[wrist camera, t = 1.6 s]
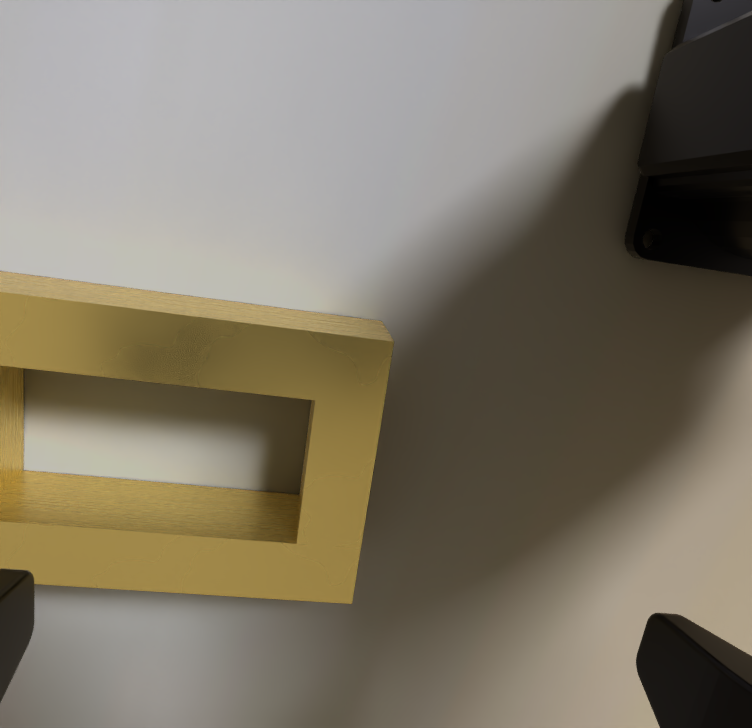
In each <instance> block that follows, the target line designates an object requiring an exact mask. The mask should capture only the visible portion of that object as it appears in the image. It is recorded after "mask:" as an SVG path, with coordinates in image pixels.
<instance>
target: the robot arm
mask: <svg viewBox="0 0 752 728" xmlns="http://www.w3.org/2000/svg"><path fill="white" fill-rule="evenodd" d="M638 167H639V169H640V172H641V174H640V178H639V182H638V186H637V190H636V194H635V198H634V202H633V207H632V211H631V215H630V219H629V223H628V227H627V231H626V235H625V246H626V249H627V251H628V252H629V253H630V254H631V255H632V256H634V257H636V258H640V259H646V260H652V261H659V262H665V263H672V264H678V265H684V266H691V267H697V268H704V269H710V270H716V271H723V272H729V273H736V274H742V275H748V276H752V0H715V1H714V2H713V1H711V0H684V2H683V6H682V10H681V14H680V18H679V22H678V26H677V30H676V34H675V38H674V42H673V46H672V50H671V51H669V52H668V53H667V54H665V56H664V58H663V62H662V66H661V70H660V74H659V78H658V82H657V86H656V90H655V94H654V98H653V102H652V106H651V110H650V114H649V119H648V123H647V127H646V131H645V135H644V139H643V143H642V147H641V151H640V155H639V159H638ZM648 230H651V232H652V233H653V241H652V243H651V245H650V246H648V247H647V248H645V246H644V244H643V236H644V234H645V232H647V231H648ZM33 628H34V577H33V574H32V573H31V572H30V571H29V570H19V569H5V568H1V569H0V703H1V701H2V699H3V697H4V694H5V692H6V690H7V688H8V686H9V684H10V682H11V680H12V678H13V675H14V673H15V671H16V669H17V667H18V665H19V663H20V661H21V659H22V656H23V654H24V652H25V650H26V648H27V646H28V644H29V641H30V639H31V636H32V632H33ZM636 666H637V672H638V675H639V678H640V680H641V683H642V685H643V687H644V690H645V692H646V695H647V697H648V700H649V702H650V705H651V707H652V709H653V712H654V714H655V717H656V719H657V722H658V724H659V726H660V728H752V656H750V655H749V654H747V653H745V652H744V651H742V650H740V649H738V648H737V647H735V646H733V645H731V644H730V643H728V642H726V641H725V640H723V639H721V638H719V637H718V636H716V635H714V634H712V633H711V632H709V631H707V630H706V629H704V628H702V627H700V626H699V625H697V624H695V623H693V622H692V621H690V620H688V619H687V618H685V617H683V616H681V615H678V614H667V613H655V614H652V615H651V616H650V617H649V619H648V621H647V624H646V627H645V630H644V634H643V637H642V640H641V643H640V647H639V650H638V653H637V657H636Z"/></svg>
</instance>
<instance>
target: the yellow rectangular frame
mask: <svg viewBox="0 0 752 728" xmlns="http://www.w3.org/2000/svg"><path fill="white" fill-rule="evenodd" d="M393 346H394V341H393V339H392V337H391V336H390V334H389V332H388V331H387V329H386V328H385V326H384V324H383V323H382V321H376V320H369V319H361V318H353V317H346V316H338V315H331V314H323V313H315V312H308V311H300V310H292V309H285V308H277V307H270V306H262V305H254V304H247V303H239V302H232V301H224V300H216V299H209V298H201V297H193V296H186V295H178V294H171V293H163V292H155V291H148V290H140V289H133V288H125V287H117V286H110V285H102V284H94V283H87V282H79V281H72V280H64V279H56V278H49V277H41V276H34V275H26V274H18V273H11V272H3V271H0V569H1V568H5V569H19V570H29V571H30V572H31V573H32V574H33V577H34V584H42V585H58V586H74V587H90V588H106V589H122V590H138V591H154V592H170V593H186V594H202V595H218V596H234V597H250V598H266V599H282V600H297V601H313V602H329V603H345V604H352V600H353V594H354V588H355V581H356V575H357V569H358V563H359V557H360V550H361V544H362V538H363V532H364V526H365V519H366V513H367V507H368V501H369V495H370V488H371V482H372V476H373V470H374V464H375V457H376V451H377V445H378V439H379V433H380V426H381V420H382V414H383V408H384V402H385V395H386V389H387V383H388V377H389V371H390V364H391V358H392V352H393ZM24 368H27V369H36V370H45V371H54V372H63V373H72V374H81V375H90V376H99V377H108V378H118V379H127V380H136V381H145V382H154V383H163V384H172V385H181V386H190V387H199V388H208V389H217V390H226V391H235V392H244V393H253V394H262V395H271V396H281V397H290V398H299V399H308V400H311V408H310V416H309V423H308V431H307V439H306V447H305V454H304V462H303V470H302V478H301V485H300V493H299V495H298V494H287V493H275V492H264V491H253V490H241V489H230V488H218V487H207V486H196V485H184V484H173V483H161V482H150V481H139V480H127V479H116V478H104V477H93V476H82V475H70V474H59V473H47V472H36V471H25V470H23V451H24Z"/></svg>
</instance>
